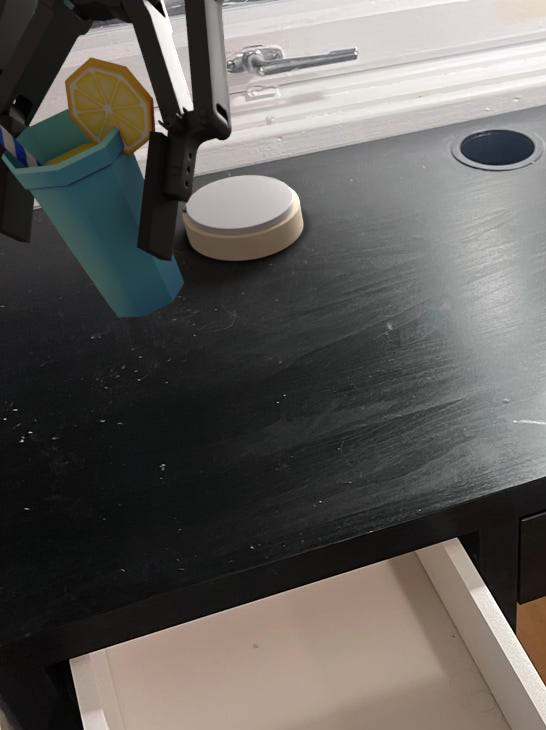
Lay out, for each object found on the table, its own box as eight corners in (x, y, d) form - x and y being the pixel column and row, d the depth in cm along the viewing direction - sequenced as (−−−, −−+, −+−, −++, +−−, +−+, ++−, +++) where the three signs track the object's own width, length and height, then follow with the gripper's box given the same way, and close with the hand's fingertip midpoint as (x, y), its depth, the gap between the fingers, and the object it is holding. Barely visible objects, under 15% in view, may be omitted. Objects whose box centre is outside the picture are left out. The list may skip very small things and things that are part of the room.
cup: (29, 360, 64) (-128, 130, 52) (41, 295, 69) (-101, 71, 57) (234, 300, 63) (121, 53, 52) (231, 238, 68) (128, 0, 57)
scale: (169, 255, 93) (160, 224, 91) (217, 197, 99) (209, 167, 97) (278, 268, 91) (272, 237, 89) (319, 208, 98) (315, 178, 95)
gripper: (324, -106, 59) (273, 282, 62) (1, -124, 63) (-33, 242, 66) (274, -198, 51) (218, 248, 54) (-89, -212, 55) (-122, 205, 58)
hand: (81, 244), depth 60 cm, fingers closed on cup, 9 cm apart
